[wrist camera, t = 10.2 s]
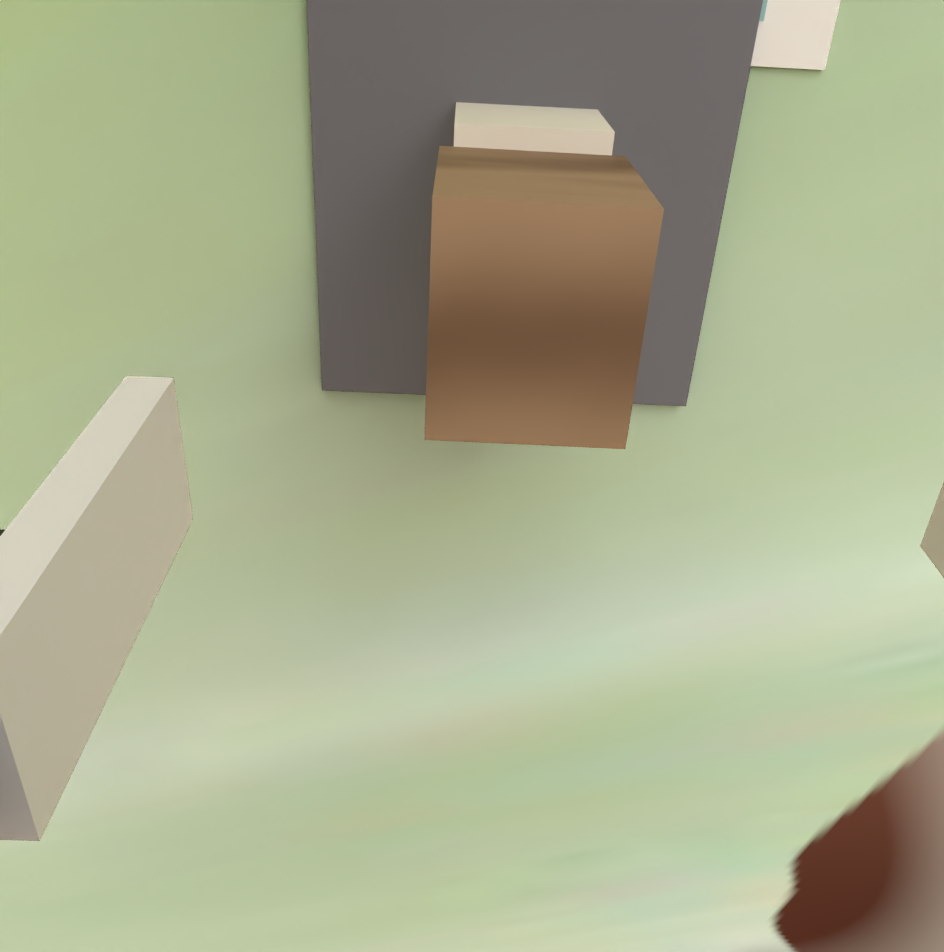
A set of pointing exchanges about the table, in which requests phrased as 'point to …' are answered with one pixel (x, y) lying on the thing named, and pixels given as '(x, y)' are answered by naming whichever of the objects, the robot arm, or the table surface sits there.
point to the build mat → (511, 62)
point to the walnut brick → (537, 296)
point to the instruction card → (795, 33)
